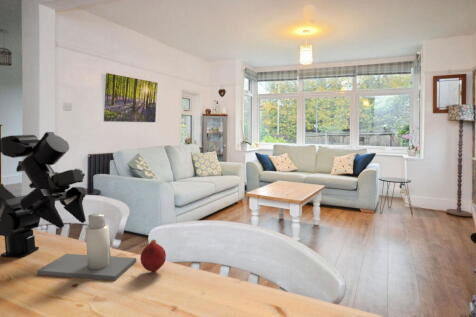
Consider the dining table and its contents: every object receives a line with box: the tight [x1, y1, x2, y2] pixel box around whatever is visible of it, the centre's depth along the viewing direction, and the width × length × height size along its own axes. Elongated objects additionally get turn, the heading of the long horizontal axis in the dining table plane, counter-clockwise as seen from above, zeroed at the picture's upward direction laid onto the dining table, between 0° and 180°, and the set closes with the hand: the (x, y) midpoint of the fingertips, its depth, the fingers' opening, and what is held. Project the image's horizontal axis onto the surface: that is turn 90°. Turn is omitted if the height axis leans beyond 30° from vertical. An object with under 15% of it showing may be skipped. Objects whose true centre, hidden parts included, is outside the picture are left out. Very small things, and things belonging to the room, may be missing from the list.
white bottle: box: [84, 212, 111, 269], centre depth 78 cm, size 5×5×12 cm
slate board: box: [36, 253, 137, 281], centre depth 79 cm, size 20×10×1 cm, turn 81°
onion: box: [139, 238, 167, 273], centre depth 76 cm, size 6×6×8 cm
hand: (73, 224), depth 82 cm, fingers open, 9 cm apart
